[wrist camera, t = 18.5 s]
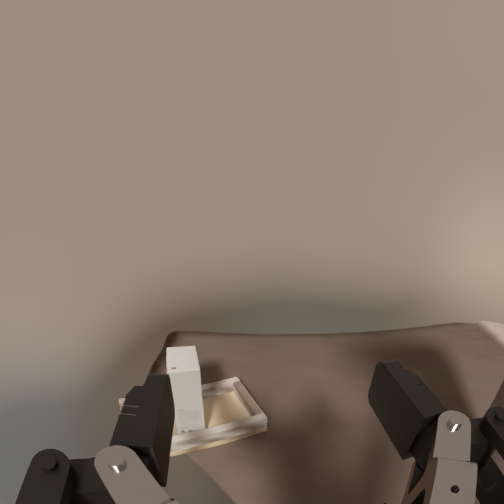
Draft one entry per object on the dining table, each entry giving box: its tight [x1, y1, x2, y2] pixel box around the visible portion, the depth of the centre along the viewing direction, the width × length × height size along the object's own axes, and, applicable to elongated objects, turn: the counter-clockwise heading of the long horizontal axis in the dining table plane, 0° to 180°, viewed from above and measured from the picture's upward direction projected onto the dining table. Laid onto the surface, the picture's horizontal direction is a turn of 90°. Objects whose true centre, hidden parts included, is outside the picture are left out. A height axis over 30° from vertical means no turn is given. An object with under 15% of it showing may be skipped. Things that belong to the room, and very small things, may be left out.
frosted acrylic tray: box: [119, 377, 267, 456], centre depth 40 cm, size 20×11×3 cm, turn 115°
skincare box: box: [166, 346, 206, 435], centre depth 38 cm, size 6×4×12 cm
